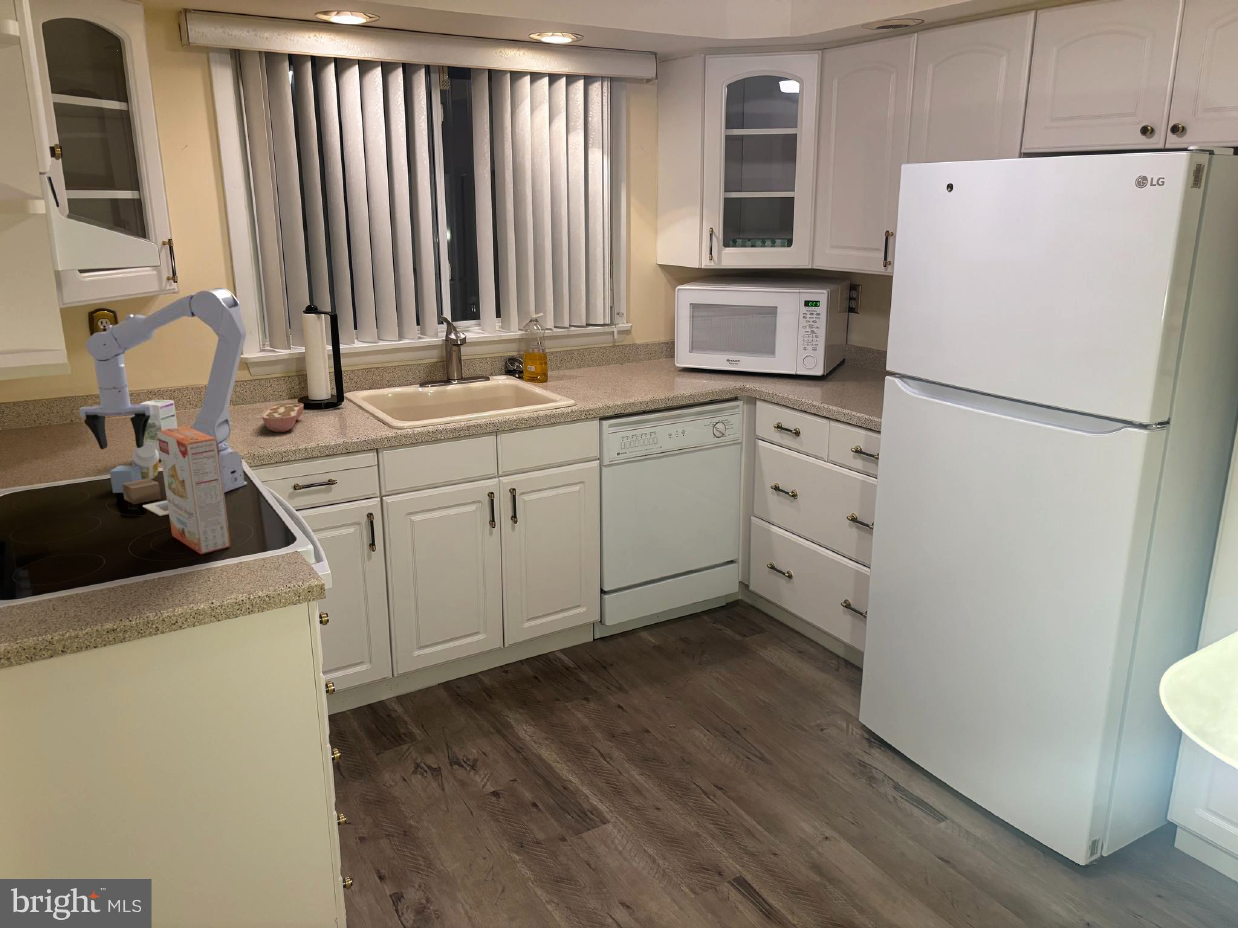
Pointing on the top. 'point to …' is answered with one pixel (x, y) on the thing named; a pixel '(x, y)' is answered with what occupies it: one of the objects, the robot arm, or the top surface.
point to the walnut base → (141, 491)
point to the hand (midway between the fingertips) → (122, 447)
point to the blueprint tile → (158, 508)
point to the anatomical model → (282, 416)
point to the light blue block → (124, 476)
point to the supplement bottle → (146, 460)
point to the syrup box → (159, 420)
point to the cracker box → (194, 489)
